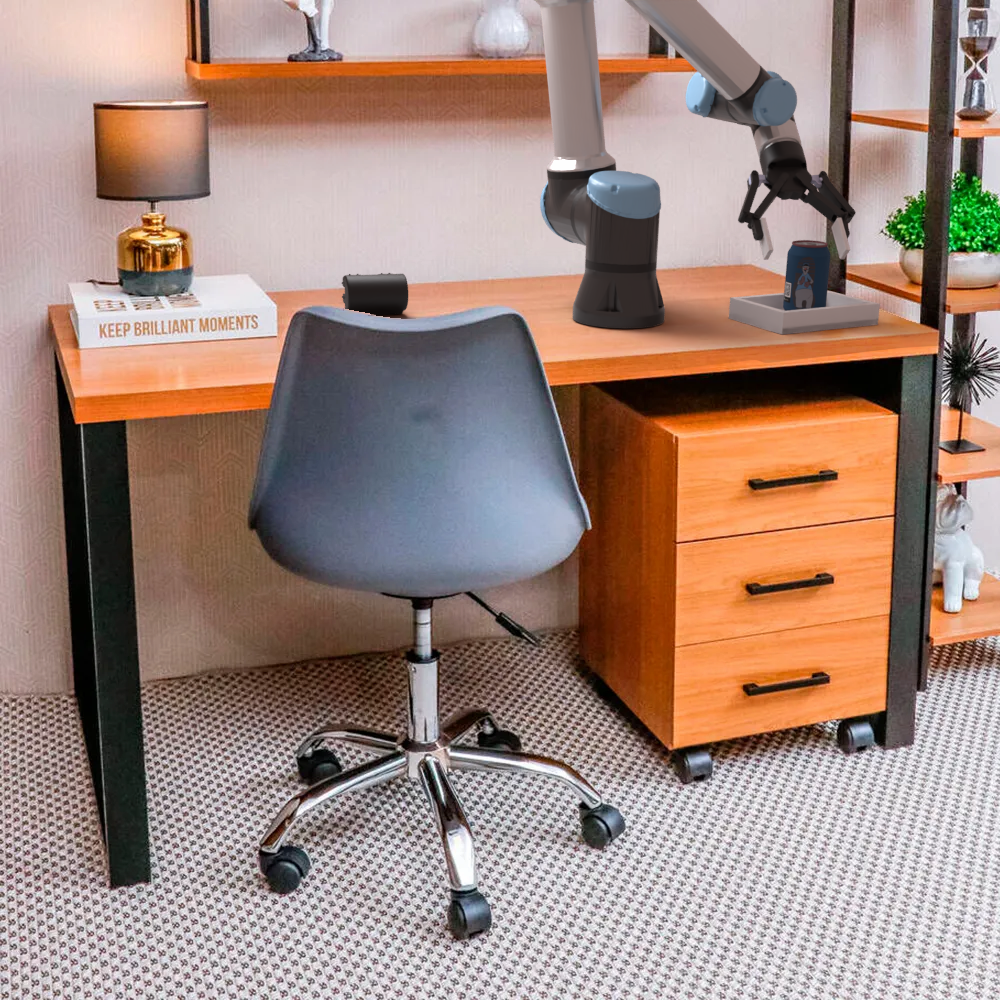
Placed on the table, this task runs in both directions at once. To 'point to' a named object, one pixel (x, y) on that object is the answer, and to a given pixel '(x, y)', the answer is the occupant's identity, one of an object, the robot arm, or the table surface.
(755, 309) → the tray
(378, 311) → the end cap
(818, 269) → the soda can
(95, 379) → the table surface
